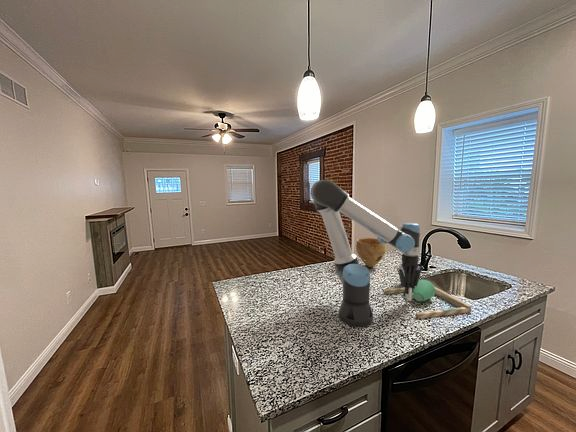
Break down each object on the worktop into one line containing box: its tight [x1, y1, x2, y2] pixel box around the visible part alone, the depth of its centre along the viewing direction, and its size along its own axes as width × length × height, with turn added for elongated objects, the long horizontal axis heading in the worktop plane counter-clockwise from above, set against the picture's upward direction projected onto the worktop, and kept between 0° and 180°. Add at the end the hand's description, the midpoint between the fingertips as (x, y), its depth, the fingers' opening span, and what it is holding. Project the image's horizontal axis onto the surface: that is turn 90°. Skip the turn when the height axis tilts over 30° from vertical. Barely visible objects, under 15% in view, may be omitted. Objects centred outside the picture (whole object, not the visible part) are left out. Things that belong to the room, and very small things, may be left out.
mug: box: [404, 279, 436, 302], centre depth 129 cm, size 15×10×10 cm
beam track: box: [383, 286, 472, 319], centre depth 126 cm, size 28×27×3 cm
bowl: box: [355, 237, 387, 268], centre depth 179 cm, size 21×20×20 cm
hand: (408, 299), depth 124 cm, fingers closed
